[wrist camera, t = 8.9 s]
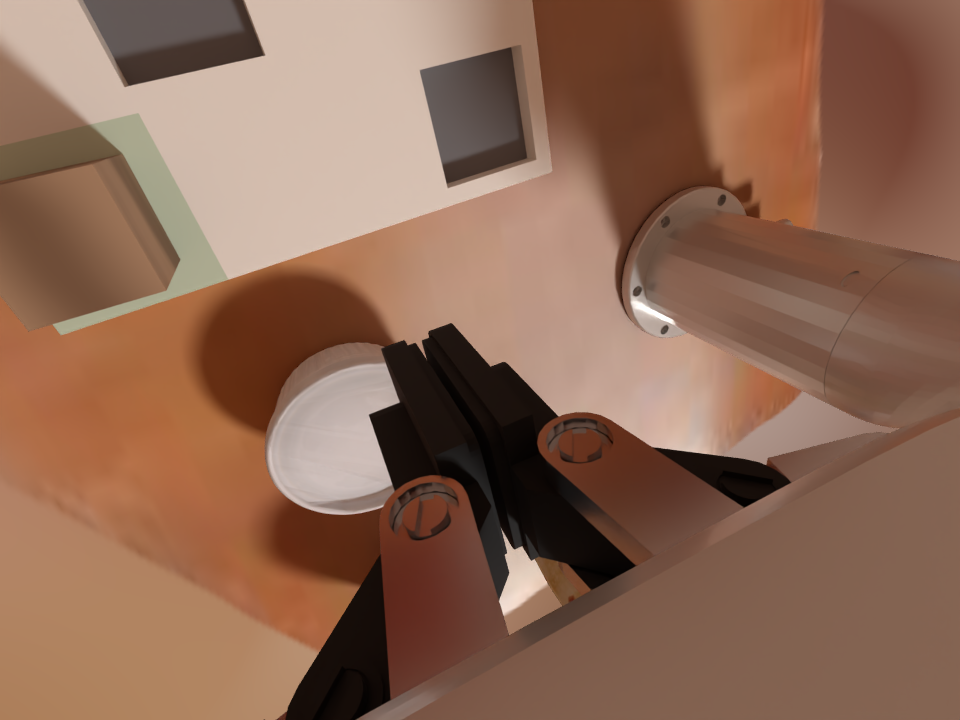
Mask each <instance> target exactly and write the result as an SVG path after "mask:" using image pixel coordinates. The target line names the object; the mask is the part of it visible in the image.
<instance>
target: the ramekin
mask: <svg viewBox="0 0 960 720" xmlns="http://www.w3.org/2000/svg"><path fill="white" fill-rule="evenodd" d="M381 348H384V346H380V345H377V344H370V343H359V342H356V343H345V344H341V345H336V346H334V347H330V348H326V349H325V350H323V351H320V352H317V353H316V354H314V355H313V356H311V357H309V358H308V359H306V360H305V361H304V362H302V363H301V364H300V365H299V366H298V367H297V368H296V369H295V370H294V371H293V372H292V374H291V375H290V376H289V377H288V379H287V380H286V382H285V384H284V386H283V387H282V389H281V392H280V395H279V397H278V400H277V404H276V408H275V412H274V413H273V415H272V418H271V420H270V422H269V425H268V428H267V432H266V438H265V460H266V465H267V469H268V472H269V474H270V477H271V479H272V481H273V482H274V484H275V485H276V487H277V488H278V489H279V490H280V492H282V493H283V494H284V495H285V496H286V497H287V498H288V499H290V500H291V501H293V502H294V503H296V504H298V505H300V506H302V507H304V508H307V509H309V510H313V511H316V512H320V513H326V514H337V515H347V514H357V513H363V512H368V511H372V510H375V509H378V508H382V507H383V506H384V504H385V502H386V501H387V499H388V498H389V497H390V496H391V495H392V494H393V493H394V488H393V485H392V482H391V479H390V476H389V473H388V470H387V467H386V465H385V462H384V459H383V456H382V453H381V450H380V447H379V444H378V441H377V438H376V435H375V432H374V429H373V426H372V423H371V420H370V417H369V414H371V413H374V412H376V411H379V410H381V409H384V408H387V407H389V406H392V405H394V404H397V403H399V399H398V396H397V394H396V391H395V388H394V385H393V382H392V379H391V377H390V374H389V371H388V368H387V365H386V363H385V360H384V357H383V354H382V351H381Z"/></svg>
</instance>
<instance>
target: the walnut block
mask: <svg viewBox="0 0 960 720" xmlns="http://www.w3.org/2000/svg"><path fill="white" fill-rule="evenodd" d="M179 262H180V258H179V256H178V254H177V252H176V250H175V249H174V247H173V245H172V243H171V241H170V239H169V238H168V236H167V234H166V232H165V230H164V228H163V227H162V225H161V223H160V221H159V219H158V217H157V216H156V214H155V212H154V210H153V208H152V206H151V205H150V203H149V201H148V199H147V197H146V195H145V194H144V192H143V190H142V188H141V186H140V184H139V183H138V181H137V179H136V177H135V175H134V173H133V172H132V170H131V168H130V166H129V164H128V162H127V161H126V159H125V157H124V155H123V154H119V155H115V156H110V157H106V158H101V159H97V160H92V161H88V162H83V163H79V164H74V165H70V166H65V167H61V168H56V169H52V170H47V171H43V172H38V173H34V174H29V175H25V176H20V177H16V178H11V179H7V180H2V181H0V296H1V297H2V298H3V300H4V301H5V302H6V304H7V305H8V306H9V307H10V309H11V310H12V311H13V312H14V314H15V315H16V316H17V317H18V319H19V320H20V321H21V322H22V324H23V325H24V326H25V327H26V329H27V330H28V331H32V330H35V329H39V328H42V327H45V326H49V325H52V324H56V323H59V322H62V321H66V320H69V319H72V318H76V317H79V316H83V315H86V314H89V313H93V312H96V311H99V310H103V309H106V308H110V307H113V306H116V305H120V304H123V303H126V302H130V301H133V300H137V299H140V298H143V297H147V296H150V295H153V294H157V293H160V292H164V291H167V288H168V286H169V284H170V282H171V280H172V277H173V275H174V273H175V271H176V269H177V266H178V264H179Z"/></svg>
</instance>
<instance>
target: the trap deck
mask: <svg viewBox="0 0 960 720" xmlns="http://www.w3.org/2000/svg"><path fill="white" fill-rule="evenodd" d="M119 154H123V155H124V157H125V159H126V161H127V162H128V164H129V166H130V168H131V170H132V172H133V173H134V175H135V177H136V179H137V181H138V183H139V184H140V186H141V188H142V190H143V192H144V194H145V195H146V197H147V199H148V201H149V203H150V205H151V206H152V208H153V210H154V212H155V214H156V216H157V217H158V219H159V221H160V223H161V225H162V227H163V228H164V230H165V232H166V234H167V236H168V238H169V239H170V241H171V243H172V245H173V247H174V249H175V250H176V252H177V254H178V256H179V258H180V262H179V264H178V266H177V269H176V271H175V273H174V275H173V277H172V280H171V282H170V284H169V286H168V288H167V291H164V292H160V293H157V294H153V295H150V296H147V297H143V298H140V299H137V300H133V301H130V302H126V303H123V304H120V305H116V306H113V307H110V308H106V309H103V310H99V311H96V312H93V313H89V314H86V315H83V316H79V317H76V318H72V319H69V320H66V321H62V322H59V323H56V324H52V325H53V326H54V327H55V328H56V330H57V331H58V332H59V333H60V335H63V334H66V333H69V332H72V331H75V330H78V329H81V328H84V327H87V326H90V325H93V324H96V323H99V322H102V321H105V320H108V319H111V318H114V317H117V316H120V315H123V314H126V313H129V312H132V311H135V310H138V309H141V308H144V307H147V306H150V305H153V304H157V303H160V302H163V301H166V300H169V299H172V298H175V297H178V296H181V295H184V294H187V293H190V292H193V291H196V290H199V289H202V288H205V287H208V286H211V285H214V284H217V283H220V282H223V281H226V280H229V279H232V278H235V277H238V276H241V275H244V274H247V273H250V272H253V271H256V270H259V269H262V268H265V267H268V266H271V265H274V264H277V263H280V262H283V261H286V260H289V259H292V258H295V257H298V256H301V255H304V254H307V253H310V252H313V251H316V250H319V249H322V248H325V247H328V246H331V245H334V244H337V243H340V242H343V241H346V240H349V239H352V238H355V237H358V236H361V235H364V234H367V233H370V232H373V231H376V230H379V229H382V228H385V227H388V226H391V225H394V224H397V223H400V222H403V221H406V220H409V219H412V218H415V217H418V216H421V215H424V214H427V213H430V212H433V211H436V210H439V209H442V208H445V207H448V206H451V205H454V204H457V203H460V202H464V201H467V200H470V199H473V198H476V197H479V196H482V195H485V194H488V193H491V192H494V191H497V190H500V189H503V188H506V187H509V186H512V185H515V184H518V183H521V182H524V181H527V180H530V179H533V178H536V177H539V176H542V175H545V174H548V173H551V172H552V164H551V155H550V147H549V138H548V130H547V121H546V113H545V104H544V96H543V87H542V79H541V70H540V62H539V54H538V45H537V37H536V28H535V20H534V11H533V3H532V0H0V181H2V180H7V179H11V178H16V177H20V176H25V175H29V174H34V173H38V172H43V171H47V170H52V169H56V168H61V167H65V166H70V165H74V164H79V163H83V162H88V161H92V160H97V159H101V158H106V157H110V156H115V155H119Z"/></svg>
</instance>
